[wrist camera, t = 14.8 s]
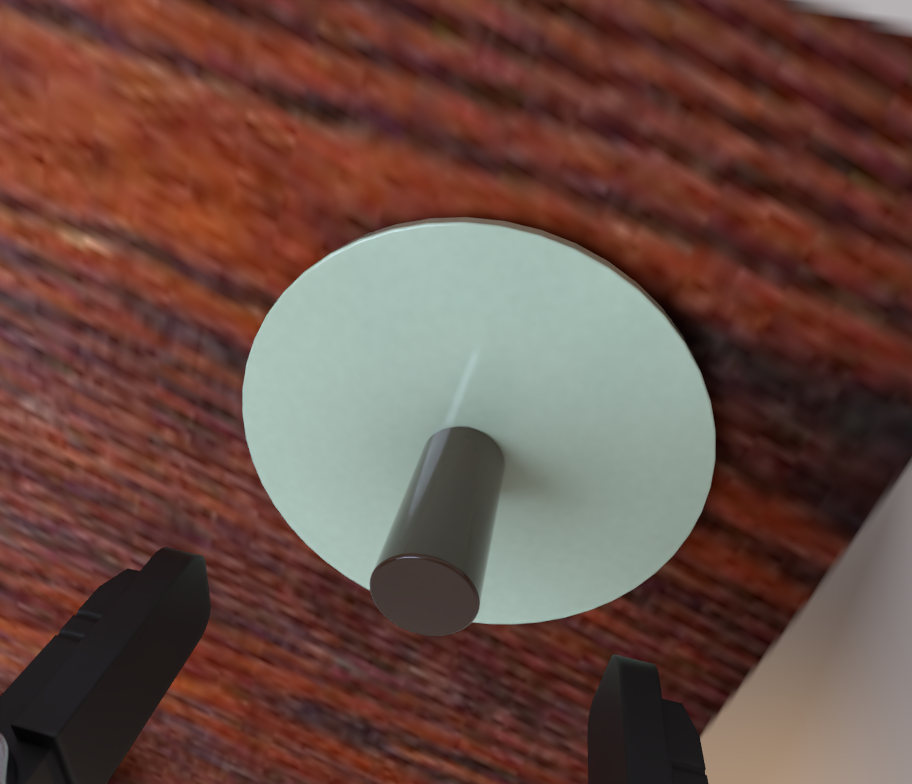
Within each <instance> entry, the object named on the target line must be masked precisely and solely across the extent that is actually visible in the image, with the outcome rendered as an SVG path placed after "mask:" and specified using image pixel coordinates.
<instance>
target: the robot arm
mask: <svg viewBox="0 0 912 784" xmlns="http://www.w3.org/2000/svg"><path fill="white" fill-rule="evenodd" d="M210 609H211V605H210V596H209V588H208V579H207V571H206V563H205V559H204V557H203V556H201V555H197V554H193V553H189V552H185V551H180V550H176V549H172V548H168V547H164V548H162V549H160V550H159V551H157V552H156V553H155V554H154V555H153V557H152V558H151V559H150V560H149V561H148V562H147V564H146V565H145V566H144V567H143V568H142V570H141V571H136V570H132V569H126V570H125V571H123V572H122V573H120V574H119V575H117V576H115V577H114V578H112V579H111V580H109V581H108V582H106V583H104V584H103V585H101V586H100V587H99V588H98V589H97V590H96V591H95V592H94V593H93V594H92V595H91V597H90V598H89V599H88V600H87V601H86V602H85V603H84V604H83V605H82V607H81V608H80V609H79V610H78V613H77V615H76V616H75V615H73V616H72V618H71V619H70V620H69V621H68V622H67V623H66V624H65V625H64V626H63V628H62V629H61V630H60V633H59V635H58V636H56V635H55V636H54V638H53V639H52V640H51V641H50V642H49V643H48V644H47V645H46V646H45V648H44V649H43V650H42V651H41V652H40V653H39V654H38V655H37V656H36V658H35V659H34V660H33V661H32V662H31V663H30V664H29V665H28V666H27V667H26V669H25V670H24V671H23V672H22V673H21V674H20V675H19V676H18V677H17V679H16V680H15V681H14V682H13V683H12V684H11V685H10V686H9V687H8V689H7V690H6V691H5V692H4V693H3V694H2V695H1V696H0V784H107V783H108V781H109V780H110V778H111V777H112V775H113V774H114V772H115V771H116V769H117V767H118V766H119V764H120V763H121V761H122V760H123V758H124V757H125V755H126V753H127V752H128V750H129V749H130V747H131V746H132V744H133V743H134V741H135V740H136V738H137V736H138V735H139V733H140V732H141V730H142V729H143V727H144V726H145V724H146V722H147V721H148V719H149V718H150V716H151V715H152V713H153V712H154V710H155V709H156V707H157V705H158V704H159V702H160V701H161V699H162V698H163V696H164V695H165V693H166V691H167V690H168V688H169V687H170V685H171V684H172V682H173V681H174V679H175V678H176V676H177V674H178V673H179V671H180V670H181V668H182V667H183V665H184V664H185V662H186V660H187V659H188V657H189V656H190V654H191V653H192V651H193V650H194V648H195V647H196V645H197V643H198V642H199V640H200V639H201V637H202V635H203V633H204V631H205V629H206V626H207V623H208V620H209V616H210ZM588 782H589V784H708V779H707V776H706V775H705V764H704V758H703V753H702V747H701V742H700V737H699V734H698V732H697V730H696V728H695V727H694V725H693V723H692V721H691V719H690V717H689V715H688V714H687V712H686V710H685V708H684V706H683V704H682V703H678V702H673V701H669V700H665V699H662V695H661V687H660V680H659V674H658V670H657V667H656V666H655V665H654V664H652V663H648V662H644V661H639V660H635V659H631V658H627V657H622V656H618V655H613V656H612V657H611V659H610V661H609V663H608V666H607V668H606V670H605V673H604V675H603V677H602V680H601V682H600V684H599V687H598V689H597V692H596V694H595V696H594V699H593V701H592V705H591V709H590V714H589V721H588Z"/></svg>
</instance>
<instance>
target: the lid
mask: <svg viewBox="0 0 912 784" xmlns="http://www.w3.org/2000/svg"><path fill="white" fill-rule="evenodd" d="M243 420H244V427H245V434H246V440H247V443H248V447H249V450H250V454H251V457H252V461H253V463H254V466H255V468H256V470H257V473H258V475H259V477H260V480H261V482H262V484H263V486H264V488H265V490H266V491H267V493H268V495H269V497H270V498H271V500H272V502H273V504H274V505H275V507H276V508H277V509H278V511H279V512H280V514H281V515H282V516H283V518H284V519H285V520H286V522H287V523H288V524H289V526H290V527H291V528H292V529H293V530H294V531H295V532H296V533H297V535H298V536H299V537H300V538H301V539H302V540H303V541H304V542H305V543H306V544H307V545H308V546H309V547H310V548H311V549H312V550H313V551H314V552H316V553H317V554H318V555H319V556H320V557H321V558H322V559H323V560H324V561H326V562H327V563H328V564H330V565H331V566H332V567H334V568H335V569H337V570H338V571H339V572H341V573H342V574H343V575H345V576H346V577H348V578H349V579H351V580H353V581H354V582H356V583H358V584H359V585H361V586H363V587H364V588H366V589H368V590H370V593H371V597H372V600H373V602H374V604H375V605H376V607H377V608H378V610H379V611H380V612H381V613H382V614H383V615H384V616H385V617H386V618H387V619H388V620H390V621H391V622H392V623H394V624H396V625H397V626H399V627H401V628H403V629H405V630H408V631H410V632H413V633H417V634H421V635H427V636H445V635H451V634H454V633H457V632H459V631H462V630H463V629H465V628H466V627H468V626H469V625H470V624H471V623H472V622H474V623H484V624H524V623H536V622H544V621H549V620H555V619H560V618H565V617H569V616H572V615H576V614H579V613H582V612H586V611H589V610H592V609H594V608H597V607H599V606H601V605H604V604H606V603H609V602H611V601H613V600H615V599H617V598H619V597H620V596H622V595H624V594H626V593H627V592H629V591H631V590H633V589H635V588H636V587H637V586H639V585H640V584H641V583H643V582H644V581H646V580H647V579H648V578H650V577H651V576H652V575H654V574H655V573H656V572H657V571H658V570H659V569H660V568H661V567H662V566H663V565H664V564H665V563H666V562H667V561H668V560H669V559H670V558H671V557H672V556H673V555H674V554H675V553H676V552H677V550H678V549H679V548H680V546H681V545H682V544H683V543H684V541H685V540H686V539H687V537H688V536H689V535H690V533H691V531H692V529H693V527H694V525H695V524H696V522H697V520H698V518H699V516H700V514H701V513H702V510H703V507H704V505H705V502H706V499H707V496H708V493H709V490H710V487H711V484H712V478H713V472H714V466H715V460H716V428H715V422H714V416H713V411H712V405H711V400H710V397H709V394H708V391H707V388H706V385H705V382H704V379H703V377H702V374H701V371H700V368H699V366H698V363H697V361H696V359H695V357H694V356H693V354H692V352H691V350H690V348H689V346H688V344H687V342H686V341H685V339H684V337H683V335H682V334H681V332H680V331H679V330H678V328H677V327H676V326H675V324H674V323H673V322H672V320H671V319H670V318H669V316H668V315H667V314H666V312H665V311H664V309H663V308H662V307H661V306H660V305H659V304H658V303H657V302H656V301H655V300H654V299H653V298H652V297H651V296H650V295H649V294H648V293H647V292H646V291H645V290H644V289H643V288H642V287H641V286H640V285H639V284H638V283H637V282H635V281H634V280H633V279H631V278H630V277H629V276H627V275H626V274H625V273H623V272H622V271H621V270H619V269H618V268H617V267H615V266H614V265H613V264H611V263H610V262H608V261H607V260H605V259H603V258H601V257H600V256H598V255H596V254H594V253H592V252H590V251H589V250H587V249H585V248H583V247H581V246H580V245H578V244H576V243H574V242H571V241H568V240H566V239H563V238H561V237H558V236H555V235H553V234H550V233H548V232H545V231H543V230H540V229H535V228H531V227H527V226H523V225H519V224H515V223H511V222H507V221H500V220H490V219H481V218H471V217H455V218H430V219H424V220H418V221H412V222H406V223H401V224H396V225H393V226H390V227H386V228H383V229H380V230H377V231H374V232H371V233H368V234H365V235H363V236H361V237H359V238H357V239H355V240H353V241H351V242H349V243H347V244H345V245H343V246H341V247H339V248H337V249H335V250H334V251H332V252H331V253H329V254H328V255H327V256H325V257H324V258H322V259H321V260H319V261H318V262H317V263H315V264H314V265H312V266H311V267H310V268H308V269H307V270H306V271H304V272H303V273H302V274H301V275H300V276H299V277H298V278H297V279H296V280H295V281H294V282H293V283H292V284H291V285H290V286H289V287H288V288H287V289H286V290H285V291H284V292H283V293H282V295H281V296H280V297H279V299H278V300H277V301H276V303H275V304H274V305H273V307H272V308H271V309H270V311H269V312H268V314H267V315H266V317H265V319H264V321H263V323H262V325H261V327H260V329H259V331H258V333H257V335H256V337H255V339H254V342H253V345H252V348H251V351H250V354H249V357H248V361H247V365H246V371H245V377H244V384H243Z"/></svg>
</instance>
